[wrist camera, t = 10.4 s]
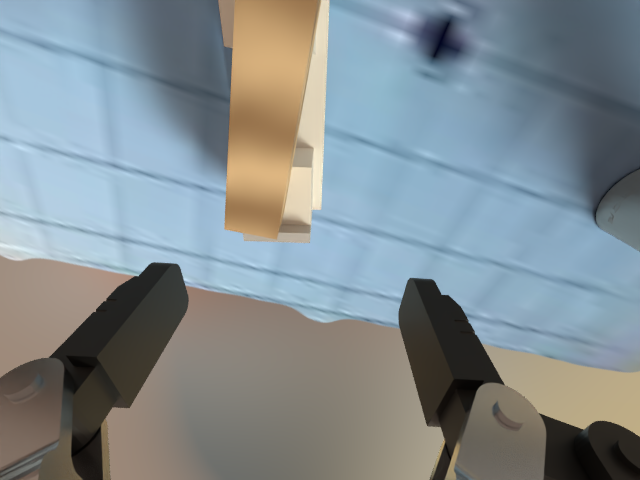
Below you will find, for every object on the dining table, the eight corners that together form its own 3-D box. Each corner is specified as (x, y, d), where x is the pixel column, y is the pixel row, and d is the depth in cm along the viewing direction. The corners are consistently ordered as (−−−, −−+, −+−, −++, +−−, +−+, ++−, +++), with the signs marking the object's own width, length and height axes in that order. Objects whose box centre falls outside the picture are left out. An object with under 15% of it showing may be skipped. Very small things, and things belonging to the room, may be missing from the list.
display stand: (229, -57, 21) (170, -136, 13) (331, -52, 21) (336, -128, 13) (255, 202, 33) (233, 244, 25) (321, 204, 33) (320, 248, 25)
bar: (258, -39, 16) (238, -72, 12) (324, -18, 16) (325, -45, 12) (239, 204, 24) (224, 229, 20) (283, 213, 25) (276, 239, 21)
